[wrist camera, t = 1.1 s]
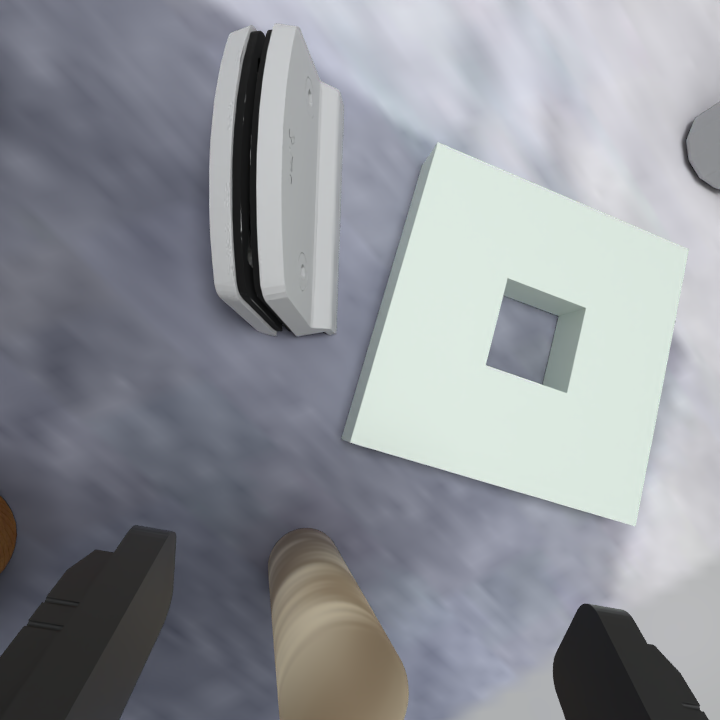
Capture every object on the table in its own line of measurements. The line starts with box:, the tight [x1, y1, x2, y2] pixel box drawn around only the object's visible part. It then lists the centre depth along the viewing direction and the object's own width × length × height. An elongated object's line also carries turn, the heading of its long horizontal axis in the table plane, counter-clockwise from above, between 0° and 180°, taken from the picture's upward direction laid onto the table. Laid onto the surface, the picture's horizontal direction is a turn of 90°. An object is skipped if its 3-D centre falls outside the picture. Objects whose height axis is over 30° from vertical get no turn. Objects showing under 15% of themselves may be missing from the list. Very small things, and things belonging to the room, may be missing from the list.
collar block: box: [341, 143, 689, 526], centre depth 33 cm, size 20×20×3 cm
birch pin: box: [268, 528, 409, 720], centre depth 23 cm, size 4×4×14 cm
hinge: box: [209, 23, 344, 336], centre depth 28 cm, size 17×5×10 cm, turn 178°
